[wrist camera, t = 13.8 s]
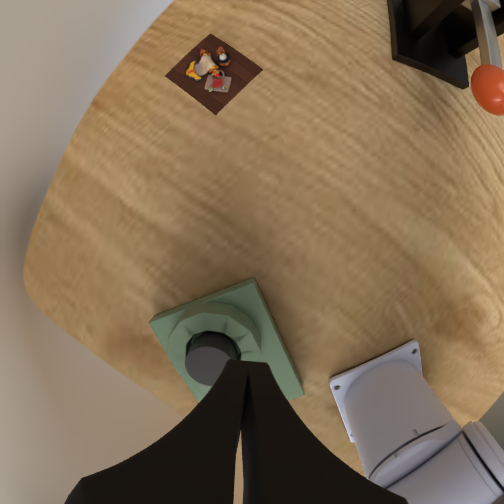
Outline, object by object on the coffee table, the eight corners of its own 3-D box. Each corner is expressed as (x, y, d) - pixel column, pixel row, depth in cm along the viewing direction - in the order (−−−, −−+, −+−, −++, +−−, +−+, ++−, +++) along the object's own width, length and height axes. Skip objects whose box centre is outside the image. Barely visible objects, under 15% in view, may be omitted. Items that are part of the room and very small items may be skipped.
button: (244, 363, 18) (243, 379, 16) (204, 375, 18) (199, 391, 16) (224, 326, 17) (221, 339, 15) (182, 340, 17) (175, 354, 16)
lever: (494, 124, 11) (527, 122, 8) (461, 106, 11) (495, 99, 8) (476, -5, 8) (498, -18, 5) (444, -24, 8) (464, -42, 5)
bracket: (462, 89, 15) (542, 59, 6) (392, 59, 15) (462, -3, 6) (450, 13, 14) (505, -30, 4) (384, -16, 14) (427, -79, 4)
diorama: (211, 43, 16) (205, 29, 14) (250, 71, 16) (248, 58, 14) (180, 71, 16) (172, 59, 14) (219, 100, 17) (214, 90, 15)
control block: (303, 385, 21) (307, 410, 18) (213, 411, 22) (208, 435, 19) (253, 276, 19) (252, 292, 16) (153, 315, 20) (138, 334, 17)
